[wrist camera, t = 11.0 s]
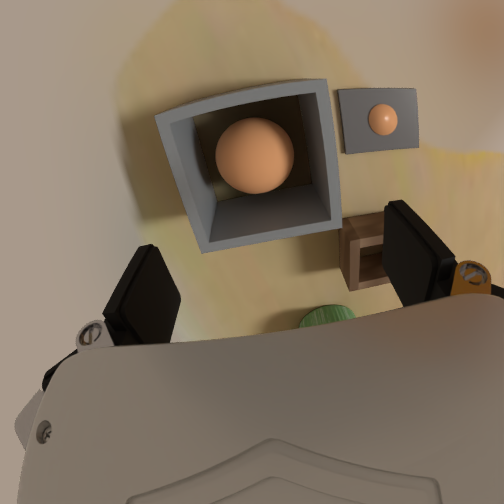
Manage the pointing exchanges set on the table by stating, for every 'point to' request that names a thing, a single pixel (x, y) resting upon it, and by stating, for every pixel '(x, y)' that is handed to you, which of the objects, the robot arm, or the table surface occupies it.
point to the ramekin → (327, 315)
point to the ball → (254, 155)
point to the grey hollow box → (263, 204)
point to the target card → (379, 119)
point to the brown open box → (350, 241)
